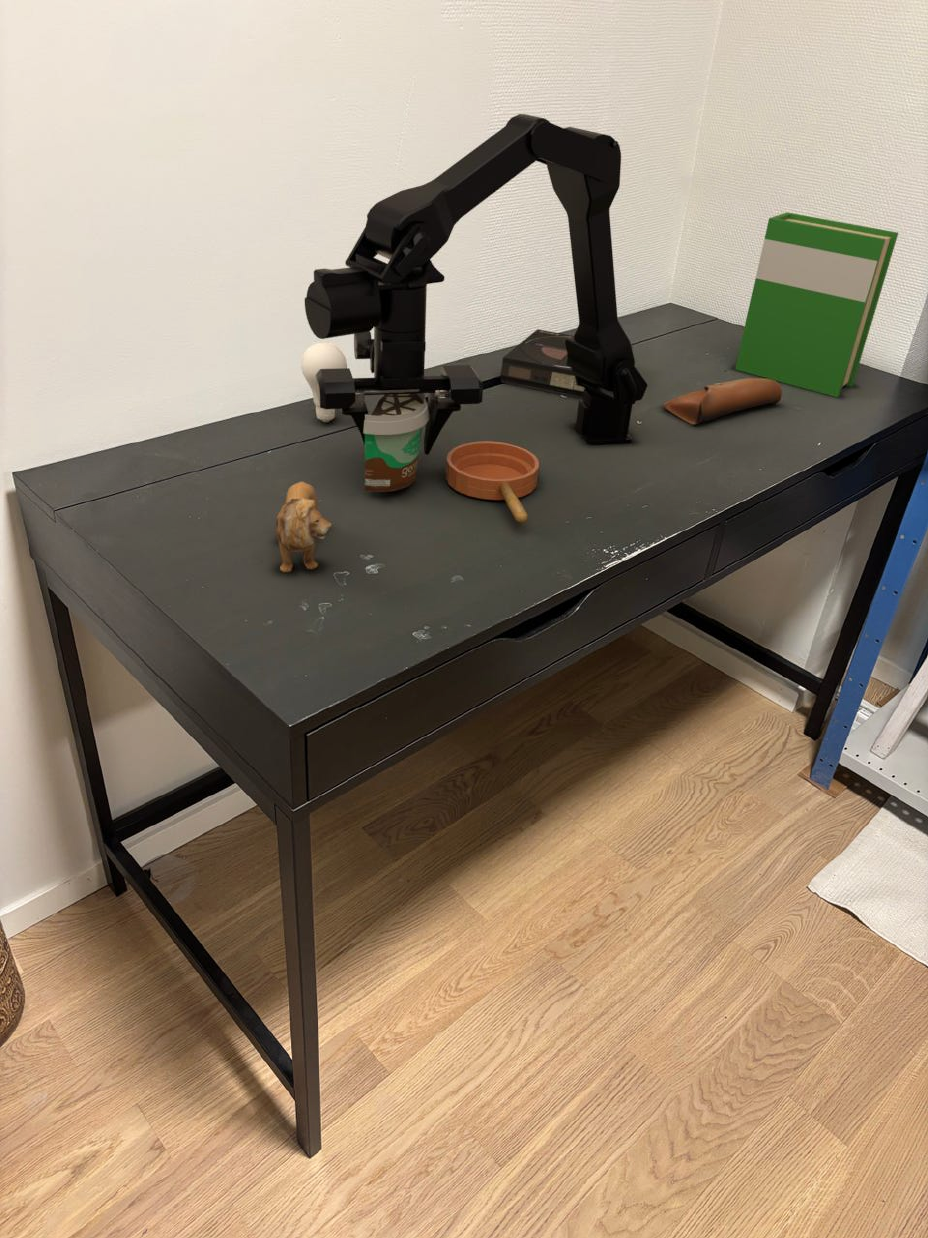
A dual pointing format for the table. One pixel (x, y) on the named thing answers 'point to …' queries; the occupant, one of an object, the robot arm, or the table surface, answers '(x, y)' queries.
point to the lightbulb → (319, 359)
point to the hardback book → (814, 301)
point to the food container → (394, 441)
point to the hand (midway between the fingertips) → (398, 454)
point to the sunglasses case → (724, 399)
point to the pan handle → (513, 502)
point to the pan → (491, 469)
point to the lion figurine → (300, 525)
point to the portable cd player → (541, 365)
